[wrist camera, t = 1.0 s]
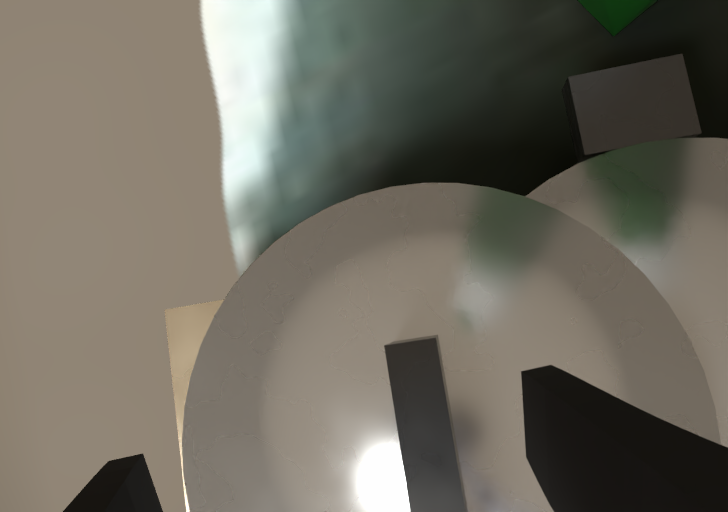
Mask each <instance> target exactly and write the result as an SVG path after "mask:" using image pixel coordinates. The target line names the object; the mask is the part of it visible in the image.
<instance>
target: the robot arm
mask: <svg viewBox="0 0 728 512" xmlns="http://www.w3.org/2000/svg"><path fill="white" fill-rule="evenodd" d="M521 379H522V396H523V413H524V431H525V448H526V458H527V460H528V462H529V464H530V466H531V469H532V471H533V473H534V475H535V477H536V479H537V481H538V483H539V485H540V487H541V489H542V491H543V493H544V495H545V497H546V499H547V501H548V502H549V504H550V506H551V508H552V509H553V511H554V512H728V447H725V446H723V445H720V444H718V443H715V442H713V441H710V440H708V439H706V438H703V437H701V436H699V435H696V434H694V433H692V432H689V431H687V430H685V429H682V428H680V427H678V426H675V425H673V424H671V423H669V422H667V421H664V420H662V419H660V418H658V417H656V416H654V415H652V414H649V413H647V412H645V411H643V410H641V409H639V408H637V407H635V406H633V405H631V404H629V403H627V402H625V401H623V400H621V399H619V398H617V397H615V396H613V395H611V394H609V393H607V392H605V391H603V390H601V389H599V388H597V387H595V386H593V385H591V384H589V383H587V382H586V381H584V380H582V379H580V378H578V377H576V376H574V375H572V374H570V373H568V372H566V371H564V370H562V369H559V368H557V367H555V366H553V365H548V366H543V367H538V368H534V369H529V370H525V371H521ZM63 512H163V511H162V508H161V505H160V502H159V499H158V496H157V493H156V490H155V487H154V485H153V482H152V479H151V476H150V473H149V470H148V467H147V464H146V462H145V458H144V455H143V454H139V455H134V456H130V457H125V458H121V459H116V460H112V461H109V462H107V463H106V464H105V465H104V466H103V467H102V469H101V470H100V471H99V472H98V473H97V474H96V475H95V476H94V477H93V478H92V479H91V480H90V482H89V483H88V484H87V485H86V486H85V487H84V489H82V491H81V492H80V493H79V494H78V495H77V496H76V497H75V498H74V500H73V501H72V502H71V503H70V504H69V505H68V506H67V508H66V509H65V510H64V511H63Z"/></svg>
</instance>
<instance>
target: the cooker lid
mask: <svg viewBox="0 0 728 512" xmlns="http://www.w3.org/2000/svg"><path fill="white" fill-rule="evenodd" d="M548 365H553V366H555V367H557V368H559V369H562V370H564V371H566V372H568V373H570V374H572V375H574V376H576V377H578V378H580V379H582V380H584V381H586V382H587V383H589V384H591V385H593V386H595V387H597V388H599V389H601V390H603V391H605V392H607V393H609V394H611V395H613V396H615V397H617V398H619V399H621V400H623V401H625V402H627V403H629V404H631V405H633V406H635V407H637V408H639V409H641V410H643V411H645V412H647V413H649V414H652V415H654V416H656V417H658V418H660V419H662V420H664V421H667V422H669V423H671V424H673V425H675V426H678V427H680V428H682V429H685V430H687V431H689V432H692V433H694V434H696V435H699V436H701V437H703V438H706V439H708V440H710V441H713V442H715V443H718V444H720V445H721V441H720V434H719V428H718V422H717V416H716V410H715V405H714V402H713V399H712V395H711V392H710V389H709V386H708V382H707V379H706V376H705V372H704V370H703V367H702V365H701V363H700V361H699V358H698V356H697V354H696V352H695V350H694V347H693V345H692V343H691V341H690V339H689V336H688V335H687V333H686V331H685V330H684V328H683V326H682V325H681V323H680V322H679V320H678V318H677V317H676V315H675V314H674V312H673V310H672V309H671V307H670V305H669V304H668V303H667V301H666V300H665V299H664V298H663V296H662V295H661V294H660V293H659V291H658V290H657V289H656V288H655V286H654V285H653V284H652V283H651V282H650V280H649V279H648V278H647V277H646V275H645V274H644V273H643V272H642V271H641V270H640V269H639V268H638V267H636V266H635V265H634V264H633V263H632V262H631V261H630V260H629V259H628V258H627V257H626V256H625V255H624V254H623V253H622V252H621V251H620V250H619V249H618V248H616V247H615V246H613V245H612V244H611V243H609V242H608V241H607V240H605V239H604V238H603V237H601V236H600V235H599V234H597V233H596V232H595V231H593V230H592V229H591V228H589V227H588V226H586V225H584V224H582V223H580V222H579V221H577V220H575V219H573V218H571V217H570V216H568V215H566V214H564V213H563V212H561V211H559V210H557V209H555V208H552V207H550V206H547V205H545V204H542V203H540V202H537V201H535V200H533V199H530V198H528V197H525V196H522V195H518V194H514V193H510V192H506V191H503V190H499V189H495V188H491V187H484V186H477V185H469V184H461V183H418V184H410V185H402V186H393V187H388V188H384V189H380V190H376V191H373V192H369V193H365V194H361V195H358V196H355V197H353V198H350V199H348V200H345V201H343V202H340V203H338V204H335V205H333V206H330V207H328V208H326V209H324V210H322V211H321V212H319V213H317V214H315V215H313V216H312V217H310V218H308V219H306V220H304V221H303V222H301V223H299V224H298V225H297V226H295V227H294V228H293V229H291V230H290V231H289V232H287V233H286V234H284V235H283V236H282V237H280V238H279V239H278V240H276V241H275V242H274V243H273V244H272V245H271V246H270V247H269V248H268V249H267V250H265V251H264V252H263V253H262V254H261V255H260V256H259V257H258V258H257V259H256V260H255V261H254V262H253V263H252V264H251V265H250V266H249V268H248V269H247V270H246V271H245V272H244V274H243V275H242V276H241V277H240V279H239V280H238V281H237V282H236V284H235V285H234V286H233V287H232V288H231V290H230V292H229V293H228V295H227V296H226V298H225V300H224V301H223V303H222V304H221V306H220V307H219V309H218V311H217V312H216V314H215V315H214V318H213V320H212V322H211V324H210V326H209V328H208V330H207V333H206V335H205V337H204V339H203V341H202V343H201V345H200V349H199V352H198V355H197V358H196V361H195V364H194V367H193V370H192V373H191V376H190V382H189V387H188V392H187V397H186V402H185V407H184V419H183V433H182V456H183V476H184V482H185V488H186V494H187V500H188V506H189V511H190V512H554V511H553V509H552V508H551V506H550V504H549V502H548V501H547V499H546V497H545V495H544V493H543V491H542V489H541V487H540V485H539V483H538V481H537V479H536V477H535V475H534V473H533V471H532V469H531V466H530V464H529V462H528V460H527V458H526V448H525V431H524V413H523V396H522V379H521V371H525V370H529V369H534V368H538V367H543V366H548Z"/></svg>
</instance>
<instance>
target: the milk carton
mask: <svg viewBox="0 0 728 512" xmlns="http://www.w3.org/2000/svg"><path fill="white" fill-rule="evenodd" d="M578 1H579V2H580V3H581V4H582V5H583V6H584V7H585V8H586V9H587V10H588V11H589V12H590V13H591V14H592V15H593V16H594V17H595V18H596V19H597V20H598V21H599V22H600V23H601V24H602V25H603V26H604V27H605V28H606V29H607V30H608V31H609V32H610V33H611V34H612V36H615V35H616V34H618V33H619V32H620V31H621V30H623V29H624V28H625V27H626V26H627V25H629V24H630V23H631V22H632V21H633V20H635V19H636V18H637V17H638V16H639V15H641V14H642V13H643V12H644V11H646V10H647V9H648V8H649V7H650V6H652V5H653V4H654V3H655V2H656V1H658V0H578Z"/></svg>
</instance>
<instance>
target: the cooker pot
mask: <svg viewBox="0 0 728 512" xmlns="http://www.w3.org/2000/svg"><path fill="white" fill-rule="evenodd" d="M562 93H563V98H564V102H565V107H566V112H567V116H568V121H569V126H570V131H571V135H572V140H573V145H574V150H575V154H576V159H577V164H576V165H575V166H573V167H571V168H569V169H567V170H565V171H563V172H562V173H560V174H558V175H556V176H554V177H552V178H550V179H549V180H547V181H546V182H544V183H543V184H542V185H540V186H539V187H537V188H536V189H535V190H533V191H532V192H531V193H529V194H528V195H526V196H525V197H528V198H530V199H533V200H535V201H537V202H540V203H542V204H545V205H547V206H550V207H552V208H555V209H557V210H559V211H561V212H563V213H564V214H566V215H568V216H570V217H571V218H573V219H575V220H577V221H579V222H580V223H582V224H584V225H586V226H588V227H589V228H591V229H592V230H593V231H595V232H596V233H597V234H599V235H600V236H601V237H603V238H604V239H605V240H607V241H608V242H609V243H611V244H612V245H613V246H615V247H616V248H618V249H619V250H620V251H621V252H622V253H623V254H624V255H625V256H626V257H627V258H628V259H629V260H630V261H631V262H632V263H633V264H634V265H635V266H636V267H638V268H639V269H640V270H641V271H642V272H643V273H644V274H645V275H646V277H647V278H648V279H649V280H650V282H651V283H652V284H653V285H654V286H655V288H656V289H657V290H658V291H659V293H660V294H661V295H662V296H663V298H664V299H665V300H666V301H667V303H668V304H669V305H670V307H671V309H672V310H673V312H674V314H675V315H676V317H677V318H678V320H679V322H680V323H681V325H682V326H683V328H684V330H685V331H686V333H687V335H688V336H689V339H690V341H691V343H692V345H693V347H694V350H695V352H696V354H697V356H698V358H699V361H700V363H701V365H702V367H703V370H704V372H705V376H706V379H707V382H708V386H709V389H710V392H711V395H712V399H713V402H714V405H715V410H716V416H717V422H718V428H719V434H720V441H721V445H723V446H725V447H728V139H723V138H696V137H697V136H698V135H700V134H701V133H702V132H701V128H700V124H699V120H698V116H697V112H696V108H695V103H694V99H693V95H692V91H691V87H690V83H689V79H688V75H687V70H686V66H685V62H684V58H683V54H677V55H672V56H667V57H663V58H658V59H653V60H648V61H643V62H638V63H633V64H629V65H624V66H619V67H614V68H609V69H604V70H599V71H595V72H590V73H585V74H580V75H575V76H570V77H568V78H567V80H566V82H565V84H564V87H563V89H562ZM224 300H225V299H224ZM224 300H219V301H213V302H207V303H201V304H195V305H189V306H183V307H177V308H171V309H165V317H166V326H167V336H168V345H169V354H170V363H171V373H172V382H173V391H174V401H175V410H176V418H177V428H178V438H179V446H180V455H181V465H182V474H183V456H182V433H183V419H184V407H185V402H186V397H187V392H188V387H189V382H190V376H191V373H192V370H193V367H194V364H195V361H196V358H197V355H198V352H199V349H200V345H201V343H202V341H203V339H204V337H205V335H206V333H207V330H208V328H209V326H210V324H211V322H212V320H213V318H214V315H215V314H216V312H217V311H218V309H219V307H220V306H221V304H222V303H223V301H224ZM183 483H184V492H185V501H186V510H187V512H190V511H189V506H188V500H187V494H186V488H185V482H184V476H183Z"/></svg>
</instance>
